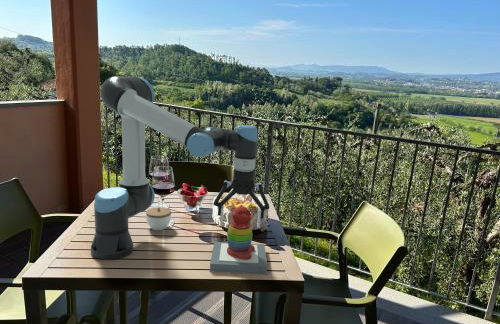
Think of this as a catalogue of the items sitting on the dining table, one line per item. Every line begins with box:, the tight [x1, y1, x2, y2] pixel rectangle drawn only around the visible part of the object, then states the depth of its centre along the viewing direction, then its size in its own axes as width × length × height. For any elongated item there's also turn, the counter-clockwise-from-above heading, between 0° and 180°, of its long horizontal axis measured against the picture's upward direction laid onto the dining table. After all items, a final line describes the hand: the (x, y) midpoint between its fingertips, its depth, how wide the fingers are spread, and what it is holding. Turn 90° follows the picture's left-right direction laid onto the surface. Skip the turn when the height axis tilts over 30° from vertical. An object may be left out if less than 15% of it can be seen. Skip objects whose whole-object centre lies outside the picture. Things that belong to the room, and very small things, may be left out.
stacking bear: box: [226, 204, 255, 260], centre depth 136 cm, size 11×10×18 cm
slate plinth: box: [209, 241, 268, 275], centre depth 138 cm, size 20×18×3 cm
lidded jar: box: [145, 206, 172, 231], centre depth 163 cm, size 11×11×9 cm
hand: (239, 225), depth 135 cm, fingers open, 13 cm apart
